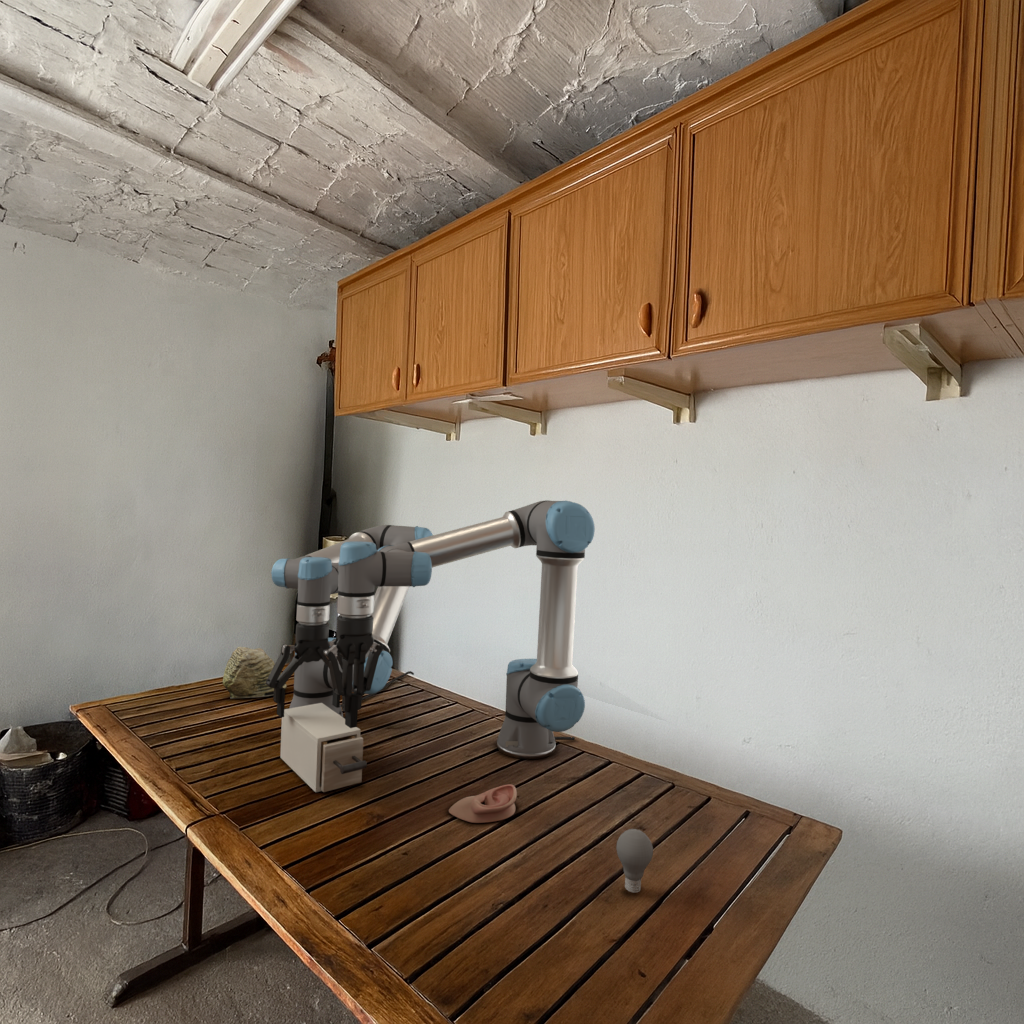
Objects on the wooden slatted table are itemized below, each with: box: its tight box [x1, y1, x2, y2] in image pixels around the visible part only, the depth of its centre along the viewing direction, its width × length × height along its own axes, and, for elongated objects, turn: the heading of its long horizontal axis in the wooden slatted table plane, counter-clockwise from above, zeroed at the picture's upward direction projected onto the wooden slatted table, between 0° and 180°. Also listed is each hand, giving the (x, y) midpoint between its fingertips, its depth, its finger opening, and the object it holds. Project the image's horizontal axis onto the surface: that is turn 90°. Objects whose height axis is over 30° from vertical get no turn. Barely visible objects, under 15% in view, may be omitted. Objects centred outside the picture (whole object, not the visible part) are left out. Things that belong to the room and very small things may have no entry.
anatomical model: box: [448, 783, 518, 824], centre depth 131 cm, size 13×4×12 cm
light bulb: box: [615, 828, 654, 894], centre depth 106 cm, size 6×6×10 cm
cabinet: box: [279, 703, 361, 793], centre depth 147 cm, size 22×10×12 cm, turn 39°
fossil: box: [222, 646, 288, 699], centre depth 198 cm, size 9×18×15 cm, turn 132°
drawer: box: [320, 735, 368, 793], centre depth 142 cm, size 26×9×10 cm, turn 39°
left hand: (308, 710), depth 151 cm, fingers open, 13 cm apart
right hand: (351, 725), depth 134 cm, fingers closed
